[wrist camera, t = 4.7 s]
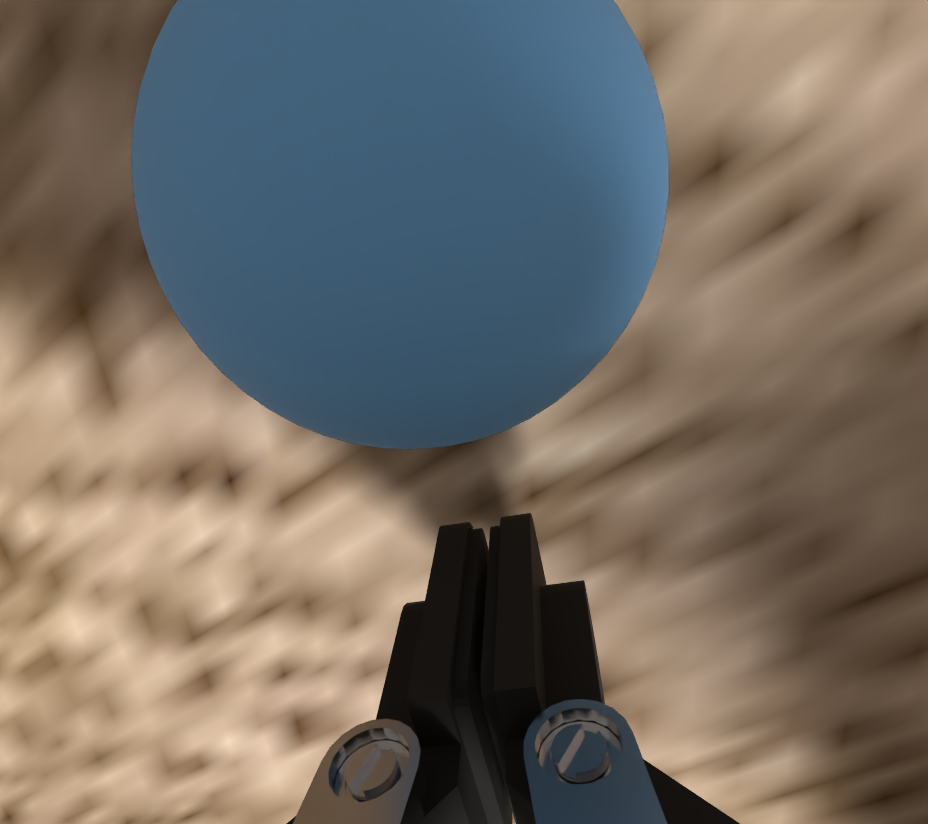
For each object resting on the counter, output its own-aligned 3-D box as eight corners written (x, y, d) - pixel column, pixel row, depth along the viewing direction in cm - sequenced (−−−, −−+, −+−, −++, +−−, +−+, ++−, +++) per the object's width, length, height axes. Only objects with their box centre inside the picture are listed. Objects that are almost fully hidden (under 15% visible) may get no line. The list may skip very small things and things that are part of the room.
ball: (640, 328, 11) (754, 516, 6) (313, 379, 12) (147, 586, 7) (603, -84, 9) (734, -411, 4) (205, 15, 10) (-183, -126, 4)
